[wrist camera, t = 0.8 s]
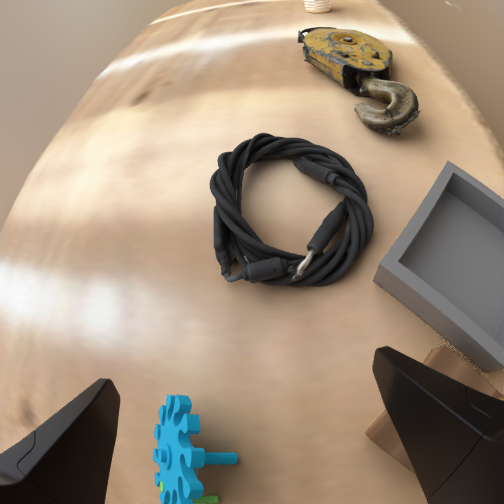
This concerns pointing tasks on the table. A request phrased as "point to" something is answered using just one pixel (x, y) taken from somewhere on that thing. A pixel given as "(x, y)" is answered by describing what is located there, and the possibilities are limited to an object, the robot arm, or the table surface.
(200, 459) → the gear
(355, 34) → the pulley block
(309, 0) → the water bottle
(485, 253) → the tray
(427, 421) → the robot arm
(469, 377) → the block
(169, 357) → the table surface
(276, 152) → the cable
